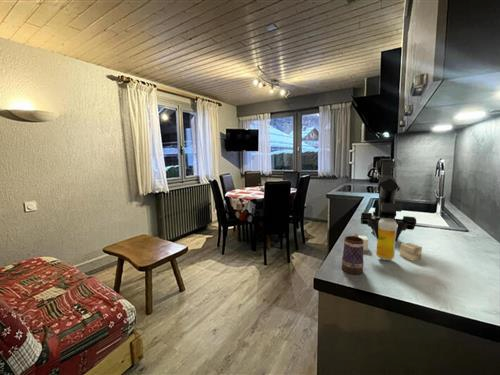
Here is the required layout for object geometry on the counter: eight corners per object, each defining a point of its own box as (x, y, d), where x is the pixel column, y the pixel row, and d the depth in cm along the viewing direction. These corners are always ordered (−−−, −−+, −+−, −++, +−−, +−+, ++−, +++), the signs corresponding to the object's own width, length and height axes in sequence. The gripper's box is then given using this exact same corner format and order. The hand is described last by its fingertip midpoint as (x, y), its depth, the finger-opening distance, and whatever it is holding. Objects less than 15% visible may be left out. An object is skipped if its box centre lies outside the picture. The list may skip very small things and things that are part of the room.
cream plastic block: (365, 246, 104) (366, 236, 103) (367, 250, 99) (368, 239, 99) (353, 245, 106) (354, 234, 105) (354, 249, 101) (355, 238, 100)
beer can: (376, 252, 94) (379, 217, 92) (393, 256, 91) (397, 219, 89) (375, 258, 89) (378, 220, 87) (394, 262, 86) (397, 223, 84)
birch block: (408, 254, 96) (409, 242, 96) (420, 259, 91) (422, 247, 91) (399, 255, 95) (400, 244, 94) (411, 260, 90) (412, 248, 89)
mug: (361, 277, 77) (363, 242, 76) (339, 271, 81) (340, 238, 80) (365, 265, 86) (367, 234, 84) (345, 260, 90) (347, 230, 88)
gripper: (362, 192, 95) (360, 226, 86) (417, 196, 86) (421, 233, 78) (361, 207, 103) (359, 239, 94) (412, 212, 94) (414, 247, 86)
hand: (386, 239), depth 88 cm, fingers closed on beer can, 6 cm apart
